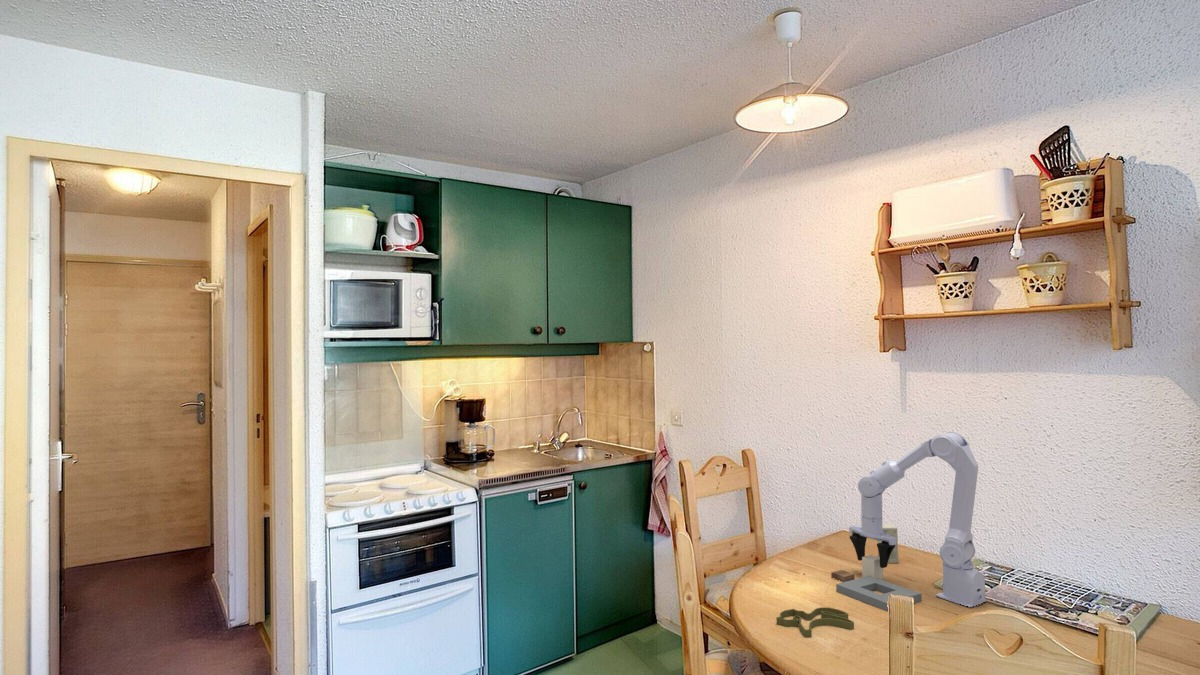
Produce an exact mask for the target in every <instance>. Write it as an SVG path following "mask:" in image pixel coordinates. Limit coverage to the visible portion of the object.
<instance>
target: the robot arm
mask: <svg viewBox="0 0 1200 675" xmlns="http://www.w3.org/2000/svg"><path fill="white" fill-rule="evenodd" d="M933 457H938V458H939V459H941V460H943V461H944V462H946V463H947V464H948V465H949V466H951V468H952V469H953V470H954V471H955V475H954V484H953V491H952V492H953V494H952V502H951V509H950V510H951V511H950V518H949V527H948V531H947V533H946V535H945V538H944V543H943V544H942V546H941V547H940V549H939V557H940V560H942V592H940V593H936V595H935V596H936V597H938V598H941V599H942V600H946V601H948V602H952V603H955V604H958V605H960V604H961V606H963V605H964V607H966V606H968V607H967V608H970V607H971V608H974V607H977V606H979V605H978V604H980V603H983V602H985V600H986V578H985V575H984V573H983V572H982V571H979V570H977V569H976V568H975V567H974V563H973V561H972V559H973V558H974V556H975V554H976V547H975V545H974V542H973V541H974V540H973V539H974V535H973V533H972V523H973V514H974V507H975V497H976V491H977V490H976V489H977V482H978V474H979V473H978V472H979V464H978V462H977V459H976V458H975V456H974V454H973V451H972V450H971V447H970V443H969V441H968V440H966V438H964V437H963V435H961V434H960V433H958V432H955V431H954V432H953V431H949V432H946V433H943V434H942V433H941V434H937V435H935V436H934V437H932V438H931V439H928V440H926V441H924V442H922V443H920V444H919V445H917V446H916V447H915V448H913V449H912V450H910V451H909V452H907V454H905V455H904V456H902V457H901V458H900V459H899V460H897V461H896V460H889V461H887V460H886V461H882V463H881V465H882V466H880V467H878V468H877V469H875V470H871V471H870V472H869V475H868V476H862V477H861V479H859V481H858V483H857V489H858V491H859V493H860V495H861V497H860V499H861V500H860V502H861V504H860V508H861V509H860V510H861V511H860V512H861V513H860V514H861V515H860V517H861V522H860V524H861V526H855V525H851V526H849V527H848V531H849V532H848V533H849V534H851V535H849V539H850V542H851V543H852V545H853V548H854V550H855V554H856V556H857V561H861V562H862V557H864V556H866V543H867V540H868V538H869V539H871V540H875V541H877V543H876V546H877V547H876V548H877V551H878V550H879V556H880V568H883V569H884V568H887V567H888V564H889V563H888V560H889V557H890V555H891V553H892V551H893V549H894V547H895V545H896V538H895V537H892V536H890V535H888V534H885V533H883V529H882V525H883V493H884V492H885V491H886V490H887V489H889V488H890V487H891V486H892V485H894V484H896V483H897V482H899V481H900V480H902V479H904V478H905V472H906V470H908V469H910V468H912V467H913V466H914V465H916V464H918V463H920V462H921V461H923V460H924V459H926V458H933ZM878 541H881V542H882V543H878ZM983 604H984V603H983ZM976 605H977V606H976ZM980 605H981V604H980ZM973 606H974V607H973Z"/></svg>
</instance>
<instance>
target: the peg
mask: <svg viewBox="0 0 1200 675" xmlns="http://www.w3.org/2000/svg"><path fill="white" fill-rule="evenodd" d="M861 571H862V572H861V575H862V577H866V576H872V577H875V578H878V579H881V580H884V568H880V558H879V557H878V556H876V555H873V554H869V555H865V556H864V557H862V560H861ZM862 577H861V578H862Z"/></svg>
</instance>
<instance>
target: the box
mask: <svg viewBox="0 0 1200 675" xmlns="http://www.w3.org/2000/svg"><path fill="white" fill-rule="evenodd" d="M882 529H883V533H885V534H888V535H890V536H892V537H895V538H896V545H895V547H894V549H893V551H892V553H891V555H890V557H889V560H888V564H899V544H898V541H899V540H898V527H896V526H895V525H893V524H882ZM878 543H882V542H881V541H878V540H877V544H878ZM877 557H879V558H880V556H879V550H878V549H877Z"/></svg>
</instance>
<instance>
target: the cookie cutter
mask: <svg viewBox="0 0 1200 675" xmlns="http://www.w3.org/2000/svg"><path fill="white" fill-rule="evenodd" d="M819 615H820V618H816V617H817V616H819ZM789 617H792V618H791V619H786V618H789ZM814 618H815V619H814ZM802 619H803V620H805V621H810V622H809V623H808V629H806V628H805V627H804V625H803V624H802ZM776 625H778V626H783V627H788V628H791V627H795V628H799V631H800V633H801V635H802V636H803V637H804V638H813V637H812V634H813V633H812V630H813V629H814V628H816V627H822V626H831V627H837V628H841V629H842V628H843V629H845V630H854V629H855V621H853V620H850V619H849V613H848V612H846V611H843V610H840V609H837V608H832V607H823V606H822V607H821V606H820V607H818V608H814V609H813V610H812V611H811V612H809V613H807V612H805V610H796V609H794V608H790V609H786V610H783V611H780V613H779V616H776Z"/></svg>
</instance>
